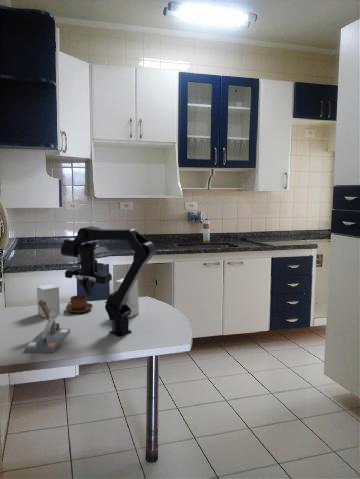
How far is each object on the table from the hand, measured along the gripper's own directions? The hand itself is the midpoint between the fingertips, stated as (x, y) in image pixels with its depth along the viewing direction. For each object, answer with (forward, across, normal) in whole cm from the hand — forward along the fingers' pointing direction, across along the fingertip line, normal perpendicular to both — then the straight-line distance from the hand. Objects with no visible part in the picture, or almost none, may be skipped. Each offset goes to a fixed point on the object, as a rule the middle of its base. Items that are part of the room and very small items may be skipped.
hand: (89, 295), depth 167 cm
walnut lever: (+9, +6, +14) cm, 18 cm away
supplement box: (+15, +25, -4) cm, 29 cm away
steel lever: (+8, +2, +26) cm, 27 cm away
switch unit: (+11, +4, +20) cm, 24 cm away
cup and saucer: (+16, +16, -14) cm, 26 cm away
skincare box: (+15, -7, -18) cm, 24 cm away
